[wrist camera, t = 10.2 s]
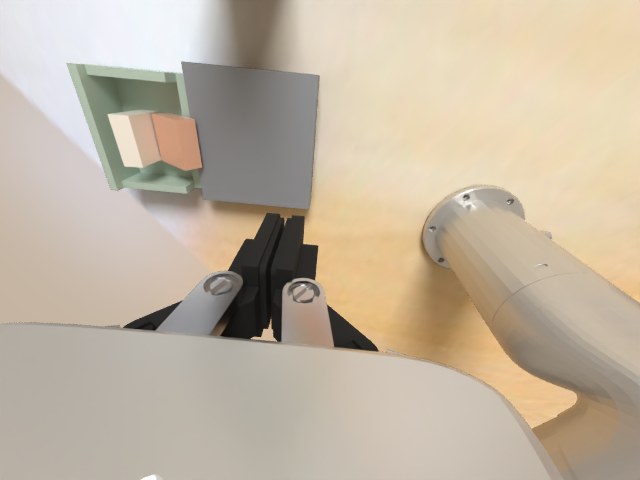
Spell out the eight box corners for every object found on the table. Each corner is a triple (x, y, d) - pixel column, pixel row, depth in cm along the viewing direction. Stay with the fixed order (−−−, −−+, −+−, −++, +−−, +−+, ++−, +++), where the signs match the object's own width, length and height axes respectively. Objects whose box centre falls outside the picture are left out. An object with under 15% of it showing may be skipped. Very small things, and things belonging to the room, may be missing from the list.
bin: (192, 74, 28) (166, 72, 23) (207, 183, 34) (190, 197, 30) (107, 65, 28) (66, 63, 23) (138, 176, 34) (110, 190, 30)
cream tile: (128, 115, 25) (107, 114, 25) (143, 167, 27) (124, 166, 27) (158, 110, 29) (140, 109, 29) (168, 156, 32) (152, 155, 32)
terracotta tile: (194, 118, 27) (174, 119, 25) (202, 167, 29) (184, 170, 28) (170, 112, 29) (150, 113, 28) (179, 158, 32) (162, 160, 30)
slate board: (319, 75, 27) (318, 75, 25) (310, 200, 35) (308, 209, 32) (195, 63, 27) (181, 61, 25) (212, 190, 34) (203, 199, 32)
